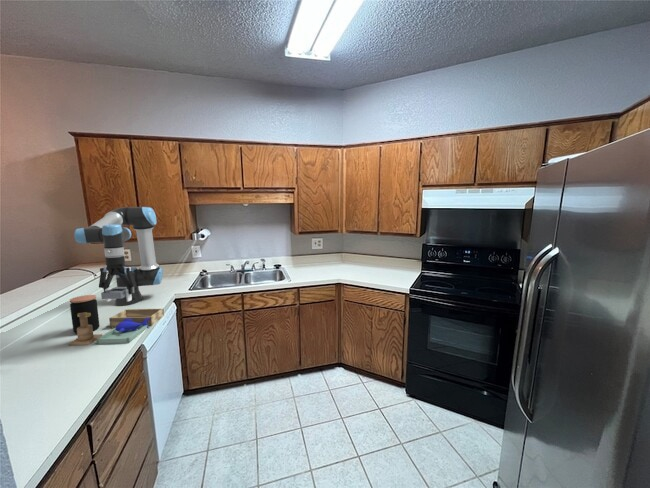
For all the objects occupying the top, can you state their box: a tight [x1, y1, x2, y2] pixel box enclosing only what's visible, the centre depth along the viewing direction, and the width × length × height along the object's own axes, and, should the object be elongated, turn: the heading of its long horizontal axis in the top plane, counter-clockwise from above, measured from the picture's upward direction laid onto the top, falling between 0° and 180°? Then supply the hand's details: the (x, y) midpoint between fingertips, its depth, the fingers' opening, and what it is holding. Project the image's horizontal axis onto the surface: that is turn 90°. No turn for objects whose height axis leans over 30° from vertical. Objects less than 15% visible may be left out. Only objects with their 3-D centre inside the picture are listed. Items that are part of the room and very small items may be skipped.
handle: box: [68, 312, 103, 346], centre depth 134 cm, size 9×9×14 cm
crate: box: [109, 308, 165, 329], centre depth 155 cm, size 13×22×6 cm, turn 93°
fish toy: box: [115, 318, 150, 331], centre depth 144 cm, size 15×8×7 cm, turn 117°
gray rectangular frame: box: [100, 286, 134, 300], centre depth 137 cm, size 9×12×3 cm
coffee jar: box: [69, 294, 100, 335], centre depth 145 cm, size 11×11×18 cm
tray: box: [95, 325, 148, 345], centre depth 140 cm, size 16×15×2 cm
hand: (119, 300), depth 136 cm, fingers closed on gray rectangular frame, 9 cm apart
